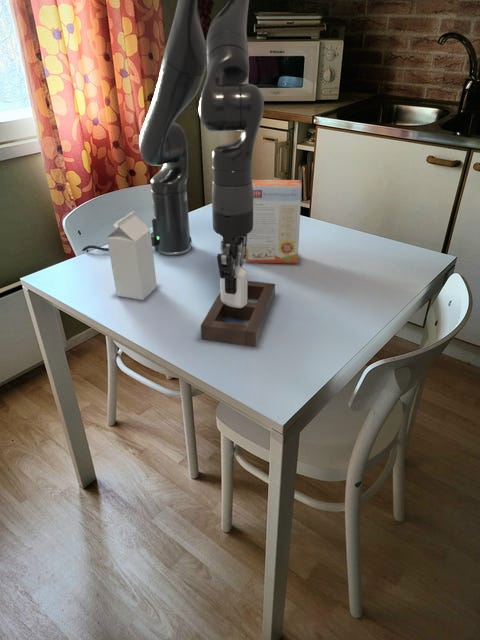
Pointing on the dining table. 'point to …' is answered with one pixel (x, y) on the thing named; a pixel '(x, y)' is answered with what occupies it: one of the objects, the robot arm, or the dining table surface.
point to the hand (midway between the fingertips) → (233, 287)
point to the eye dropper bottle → (241, 294)
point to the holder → (240, 317)
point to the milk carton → (132, 258)
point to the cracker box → (275, 222)
